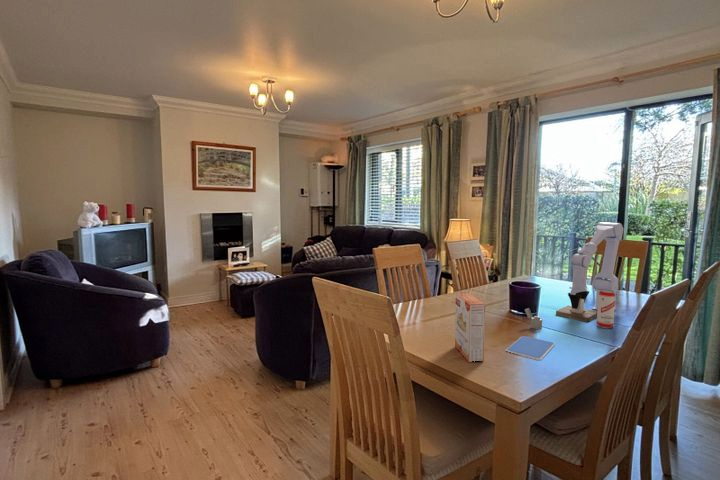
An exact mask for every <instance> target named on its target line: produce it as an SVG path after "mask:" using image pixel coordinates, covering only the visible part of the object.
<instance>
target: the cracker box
mask: <svg viewBox="0 0 720 480" xmlns="http://www.w3.org/2000/svg"><path fill="white" fill-rule="evenodd" d="M454 317H455V321H454V322H455V326H454V327H455V328H454V347H455V348H456V350H457V351H458V350H459V351H460V352H459V351H458V352H459V353H460V354H461V356H462V357H463V356H464V357H465V358H466V359H465V358H464V357H463V358H464V359H465V360H466V361H467V362H468V363H476V362H475V361H483V362H484V360H485V359H484V357H485V356H484V355H485V327H486V326H485V325H486V323H485V320H486V319H485V318H486V304H485V303H483V302H482V301H481V300H479V299H478V298H477V297H475V296H474V295H472V294H471V293H456V294H455V316H454ZM472 361H474V362H472Z"/></svg>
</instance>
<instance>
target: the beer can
mask: <svg viewBox="0 0 720 480" xmlns="http://www.w3.org/2000/svg"><path fill="white" fill-rule="evenodd" d="M615 306H616V293H614V291H612V290H600V292H599V295H598V308H597V310H596V311H597V317H596V325H597V326H598V327H600V328H601V329H611V328H613V327H614V324H615V323H614V321H615V311H616V309H615V308H616V307H615Z"/></svg>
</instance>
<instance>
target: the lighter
mask: <svg viewBox="0 0 720 480" xmlns="http://www.w3.org/2000/svg"><path fill="white" fill-rule="evenodd" d="M524 312H525V314H526V316H527V318H528V319H531V320H530V329H534V330H535V329H536V330H540V331H542V330H543V319H542V318H541V317H540V316H538V315H534V316H533V314H532V312H531V309H530V308H529V307H528V308H525V309H524Z"/></svg>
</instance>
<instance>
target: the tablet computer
mask: <svg viewBox="0 0 720 480" xmlns="http://www.w3.org/2000/svg"><path fill="white" fill-rule="evenodd" d="M555 346H556V343H555V342H553V341H548V340H545V339H543V340H542V339H538V338H535V337H531V336H527V335H526V336H525V335H522V336H520V337H519V338H518V339H517V340H515V341H514V342H513V343H512V344H511V345H509V347H507V348H506V349H505V352H506V351H508V352H507V353H509V352H511V353H510V354H512V353H515V354H514V355H516V354H518V355H517V356H520V355H521V357H525V358H528V359H533V360H536V361H542V360H543V359H544V358H545V357H546V356H547V355H548V353H549V352H550V351H551V350H552V349H553V348H554V347H555Z"/></svg>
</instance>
